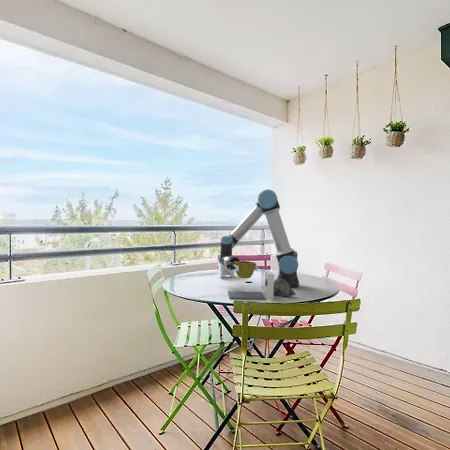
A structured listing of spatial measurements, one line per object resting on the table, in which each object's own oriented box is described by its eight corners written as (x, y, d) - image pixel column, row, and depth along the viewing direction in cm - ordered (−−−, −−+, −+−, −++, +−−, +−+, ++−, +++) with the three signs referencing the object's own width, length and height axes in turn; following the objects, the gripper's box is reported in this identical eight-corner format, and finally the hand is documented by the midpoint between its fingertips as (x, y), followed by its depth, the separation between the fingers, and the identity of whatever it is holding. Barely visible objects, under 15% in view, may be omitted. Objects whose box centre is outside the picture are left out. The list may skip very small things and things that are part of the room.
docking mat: (261, 293, 198) (261, 291, 198) (265, 299, 184) (265, 297, 184) (228, 292, 197) (228, 291, 197) (229, 299, 183) (229, 297, 183)
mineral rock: (296, 298, 189) (297, 280, 189) (280, 299, 185) (280, 281, 185) (284, 292, 201) (285, 276, 201) (269, 294, 197) (269, 277, 197)
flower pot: (243, 275, 196) (243, 260, 196) (255, 277, 191) (255, 262, 190) (233, 277, 190) (234, 262, 189) (246, 280, 184) (246, 263, 184)
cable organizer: (234, 279, 238) (235, 262, 238) (219, 279, 237) (220, 262, 236) (231, 275, 253) (231, 259, 253) (217, 275, 252) (217, 259, 251)
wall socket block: (269, 293, 197) (270, 270, 197) (273, 299, 185) (274, 274, 185) (263, 293, 197) (264, 270, 197) (267, 299, 185) (267, 274, 185)
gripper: (248, 267, 211) (266, 274, 191) (214, 269, 202) (228, 276, 182) (249, 255, 211) (266, 261, 191) (214, 256, 202) (228, 262, 182)
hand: (248, 268), depth 186 cm, fingers closed on flower pot, 11 cm apart
